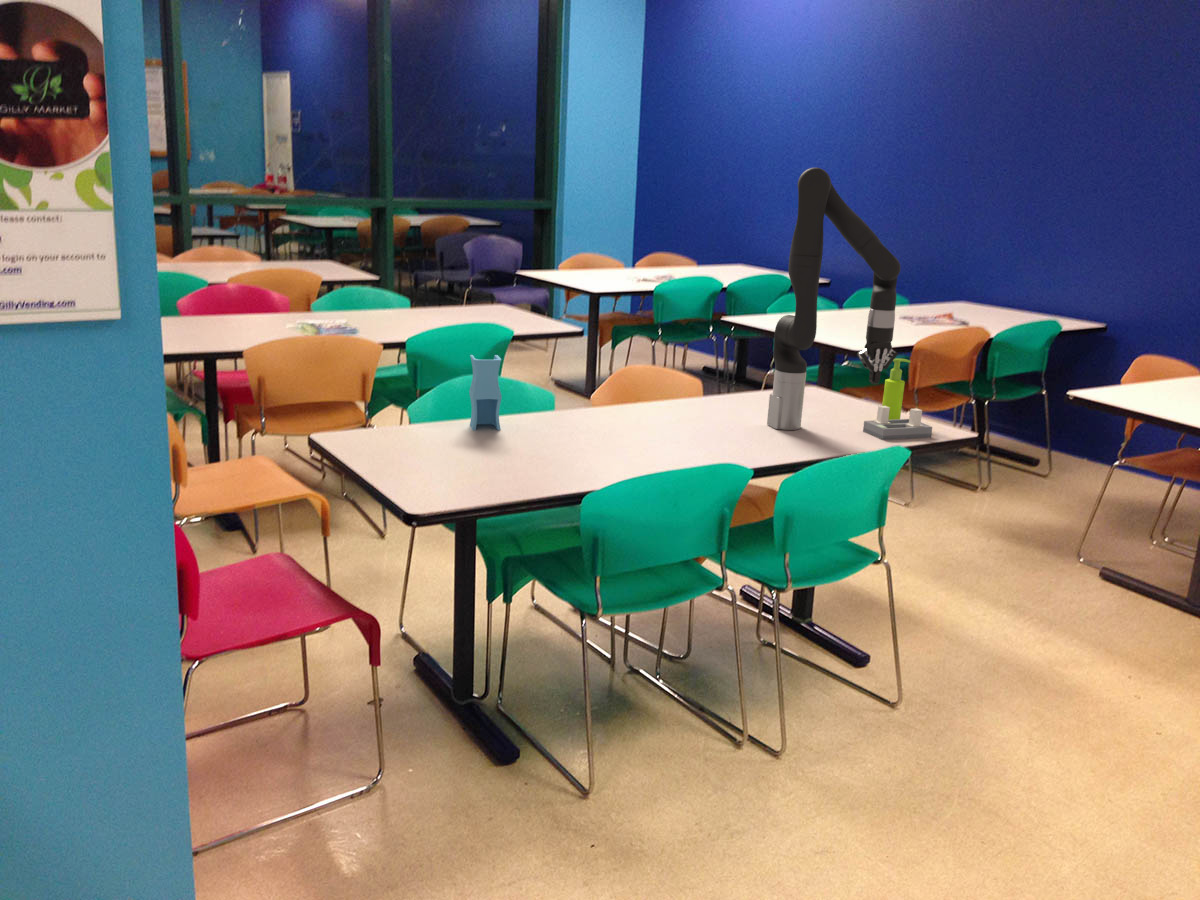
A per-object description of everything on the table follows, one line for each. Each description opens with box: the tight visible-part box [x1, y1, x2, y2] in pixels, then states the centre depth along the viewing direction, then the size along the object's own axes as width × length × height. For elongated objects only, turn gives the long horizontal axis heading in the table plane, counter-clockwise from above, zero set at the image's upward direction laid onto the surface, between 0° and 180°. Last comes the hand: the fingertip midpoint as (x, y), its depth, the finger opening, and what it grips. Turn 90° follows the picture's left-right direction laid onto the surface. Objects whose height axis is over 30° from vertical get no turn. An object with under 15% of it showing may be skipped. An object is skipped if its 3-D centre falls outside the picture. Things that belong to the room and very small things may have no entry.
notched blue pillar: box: [469, 354, 503, 432], centre depth 289 cm, size 8×8×20 cm
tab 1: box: [872, 405, 891, 424], centre depth 306 cm, size 4×3×7 cm
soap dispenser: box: [881, 358, 912, 420], centre depth 319 cm, size 6×7×20 cm
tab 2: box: [905, 408, 923, 427], centre depth 305 cm, size 4×3×7 cm
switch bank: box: [862, 418, 933, 441], centre depth 306 cm, size 17×10×3 cm, turn 110°
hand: (874, 383), depth 302 cm, fingers closed
